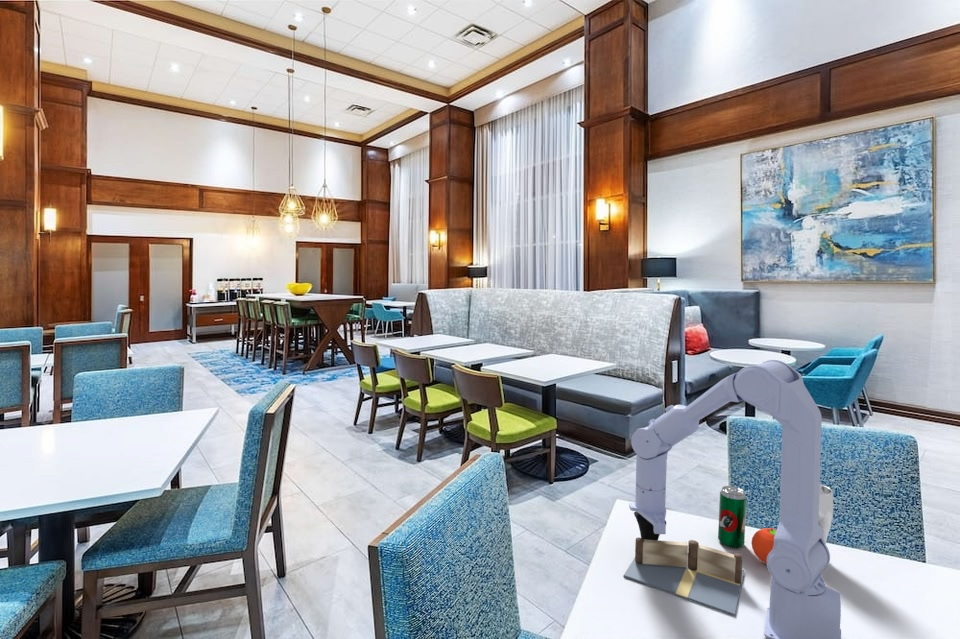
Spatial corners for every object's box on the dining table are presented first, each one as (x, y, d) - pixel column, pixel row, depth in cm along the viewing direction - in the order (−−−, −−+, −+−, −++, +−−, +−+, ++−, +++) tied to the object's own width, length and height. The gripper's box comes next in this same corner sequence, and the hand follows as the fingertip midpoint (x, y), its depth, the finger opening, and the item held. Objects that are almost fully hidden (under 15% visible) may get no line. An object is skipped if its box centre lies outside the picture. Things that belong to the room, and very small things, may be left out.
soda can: (747, 551, 100) (750, 496, 99) (721, 548, 101) (724, 494, 100) (739, 538, 105) (742, 486, 104) (715, 536, 106) (717, 484, 105)
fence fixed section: (741, 580, 90) (743, 554, 89) (740, 585, 88) (742, 559, 88) (688, 564, 95) (689, 539, 95) (686, 568, 93) (687, 543, 93)
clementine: (804, 572, 93) (806, 537, 92) (779, 580, 90) (781, 544, 90) (766, 550, 100) (768, 518, 100) (742, 557, 98) (744, 524, 97)
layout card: (744, 571, 93) (744, 569, 93) (734, 616, 81) (734, 614, 80) (645, 541, 104) (645, 539, 104) (623, 577, 91) (623, 574, 91)
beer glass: (795, 564, 95) (799, 492, 94) (784, 546, 102) (787, 478, 101) (836, 570, 93) (840, 497, 92) (822, 551, 100) (826, 482, 99)
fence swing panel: (685, 563, 95) (685, 540, 94) (687, 567, 93) (688, 545, 93) (634, 559, 96) (634, 537, 96) (635, 563, 94) (636, 541, 94)
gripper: (622, 470, 103) (621, 530, 104) (639, 500, 88) (637, 570, 90) (656, 471, 102) (654, 531, 103) (678, 502, 88) (675, 572, 89)
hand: (648, 549), depth 96 cm, fingers closed
